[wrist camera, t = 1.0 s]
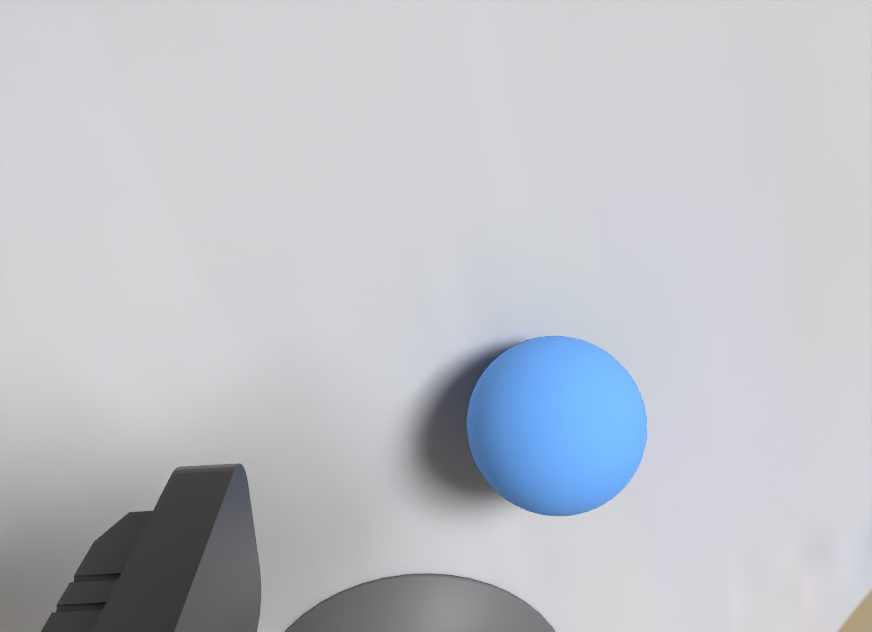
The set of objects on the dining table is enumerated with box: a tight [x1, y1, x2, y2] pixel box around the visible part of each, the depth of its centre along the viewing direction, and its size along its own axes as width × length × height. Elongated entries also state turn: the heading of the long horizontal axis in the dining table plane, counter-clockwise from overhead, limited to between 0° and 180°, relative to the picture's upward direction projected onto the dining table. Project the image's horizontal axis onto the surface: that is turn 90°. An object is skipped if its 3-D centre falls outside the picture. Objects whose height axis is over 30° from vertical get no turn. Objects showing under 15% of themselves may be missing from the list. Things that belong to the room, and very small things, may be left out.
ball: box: [467, 336, 647, 516], centre depth 26 cm, size 6×6×6 cm
